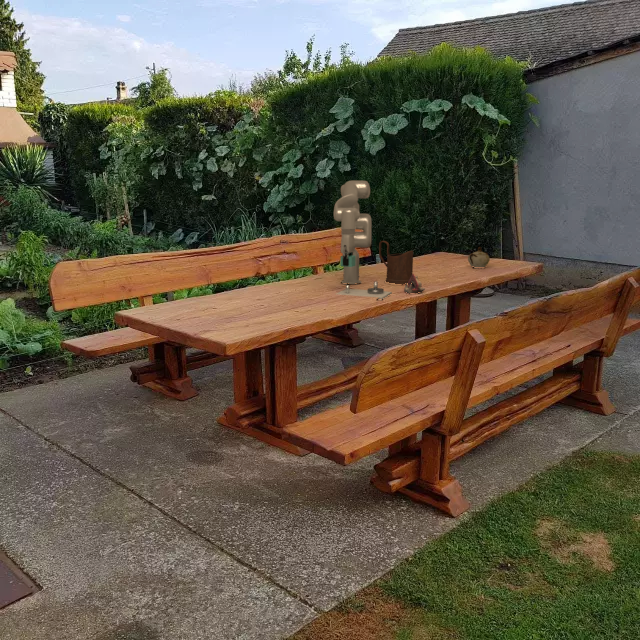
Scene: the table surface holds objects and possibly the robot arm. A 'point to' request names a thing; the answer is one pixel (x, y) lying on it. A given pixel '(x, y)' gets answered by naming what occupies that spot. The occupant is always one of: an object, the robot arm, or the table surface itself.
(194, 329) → the table surface
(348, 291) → the stand rod
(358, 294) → the board
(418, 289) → the brake caliper
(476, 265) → the sugar bowl
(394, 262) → the brown pitcher
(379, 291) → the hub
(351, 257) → the collar
